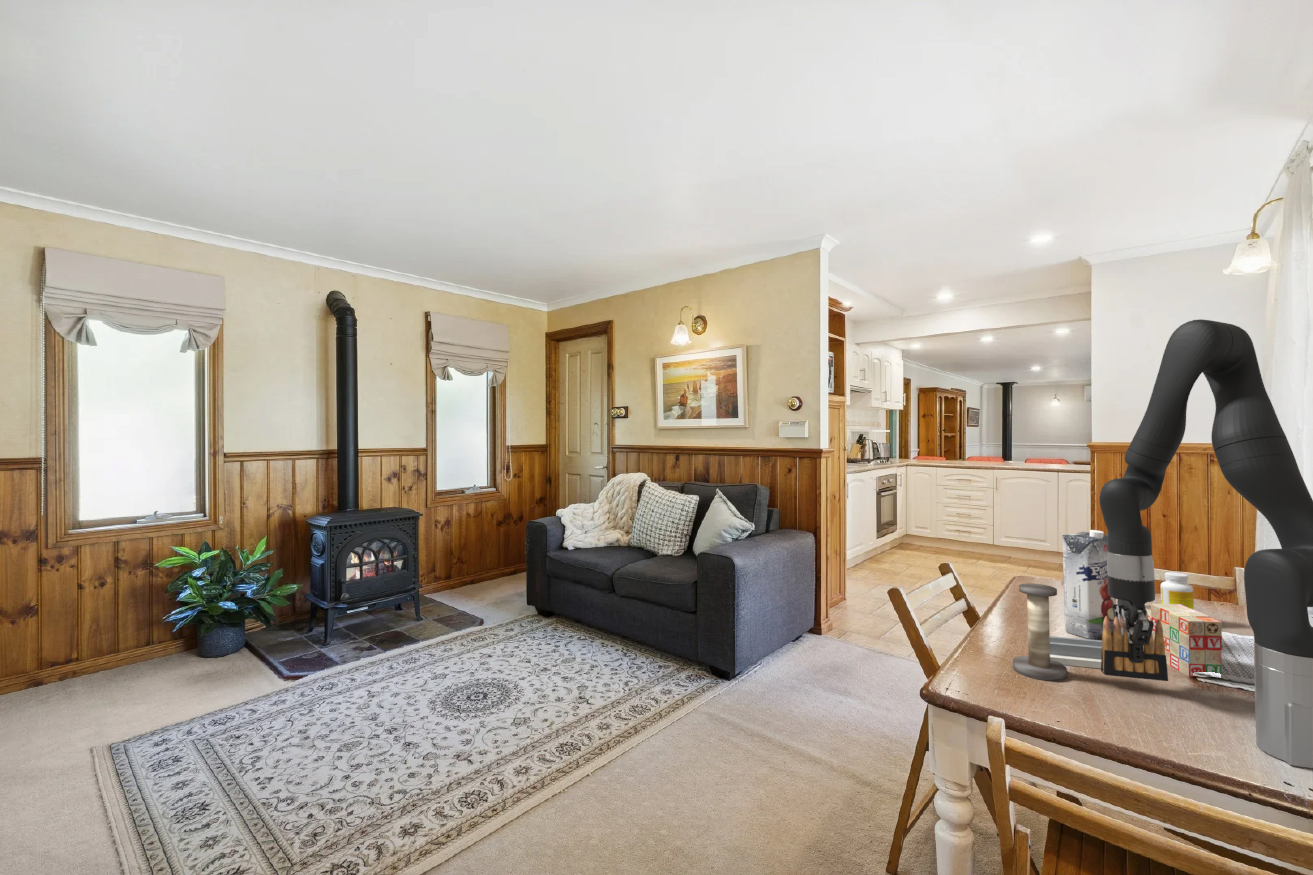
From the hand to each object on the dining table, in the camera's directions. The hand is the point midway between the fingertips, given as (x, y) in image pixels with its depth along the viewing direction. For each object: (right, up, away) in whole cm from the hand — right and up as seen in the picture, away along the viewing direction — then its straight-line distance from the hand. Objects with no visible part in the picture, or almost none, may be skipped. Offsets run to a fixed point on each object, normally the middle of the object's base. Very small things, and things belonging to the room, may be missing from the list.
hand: (1133, 659), depth 119 cm
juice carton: (+14, -5, +31) cm, 34 cm away
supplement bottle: (+44, -5, +39) cm, 59 cm away
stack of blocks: (+20, -6, +14) cm, 26 cm away
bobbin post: (-13, -6, +9) cm, 17 cm away
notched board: (0, -6, +15) cm, 16 cm away
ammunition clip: (0, -4, 0) cm, 4 cm away
